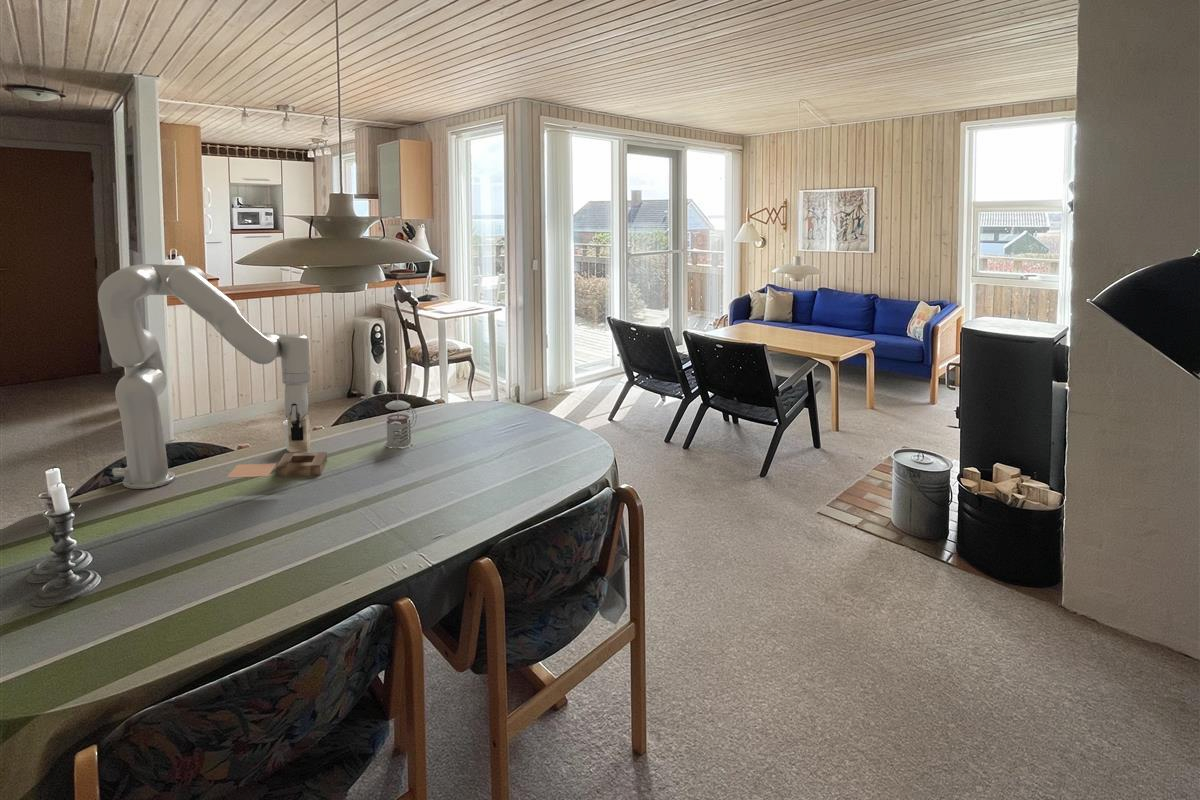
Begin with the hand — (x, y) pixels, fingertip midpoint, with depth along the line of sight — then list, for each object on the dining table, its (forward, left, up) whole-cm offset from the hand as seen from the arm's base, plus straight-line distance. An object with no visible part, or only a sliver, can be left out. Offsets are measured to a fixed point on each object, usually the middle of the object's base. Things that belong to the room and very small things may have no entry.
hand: (299, 436), depth 213 cm
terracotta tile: (-14, 0, -11) cm, 18 cm away
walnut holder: (0, 0, -11) cm, 11 cm away
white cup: (-5, +20, -11) cm, 23 cm away
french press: (+27, +25, -11) cm, 39 cm away
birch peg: (0, 0, -4) cm, 4 cm away
